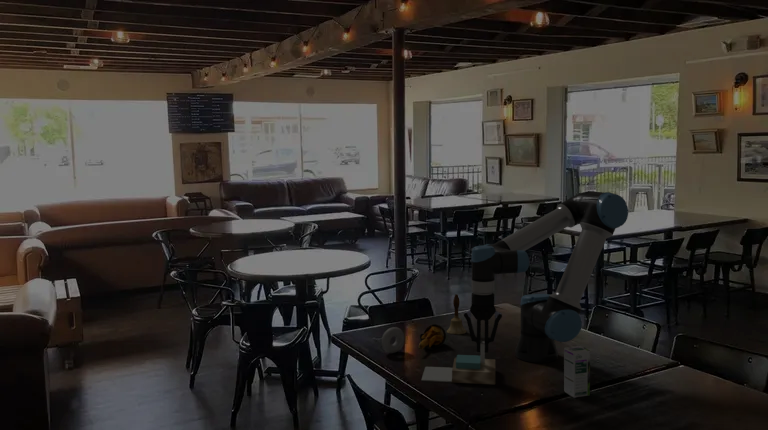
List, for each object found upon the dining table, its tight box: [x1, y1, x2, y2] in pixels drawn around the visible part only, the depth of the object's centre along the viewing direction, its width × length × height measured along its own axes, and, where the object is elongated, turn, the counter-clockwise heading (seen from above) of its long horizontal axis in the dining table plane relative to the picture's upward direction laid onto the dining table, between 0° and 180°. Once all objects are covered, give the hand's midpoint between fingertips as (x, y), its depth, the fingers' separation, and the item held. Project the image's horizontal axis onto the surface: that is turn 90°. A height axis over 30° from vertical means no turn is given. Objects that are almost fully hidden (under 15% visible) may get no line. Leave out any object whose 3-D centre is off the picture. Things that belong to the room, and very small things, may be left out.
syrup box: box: [563, 345, 591, 399], centre depth 196 cm, size 6×6×14 cm
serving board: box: [451, 357, 496, 385], centre depth 213 cm, size 14×13×4 cm
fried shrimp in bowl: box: [417, 323, 447, 351], centre depth 243 cm, size 9×11×18 cm
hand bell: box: [446, 293, 467, 335], centre depth 265 cm, size 8×8×16 cm
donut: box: [381, 326, 405, 354], centre depth 239 cm, size 10×4×10 cm, turn 125°
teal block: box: [455, 354, 480, 369], centre depth 213 cm, size 8×8×2 cm
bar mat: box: [421, 366, 453, 383], centre depth 216 cm, size 10×13×1 cm
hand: (482, 361), depth 212 cm, fingers closed
